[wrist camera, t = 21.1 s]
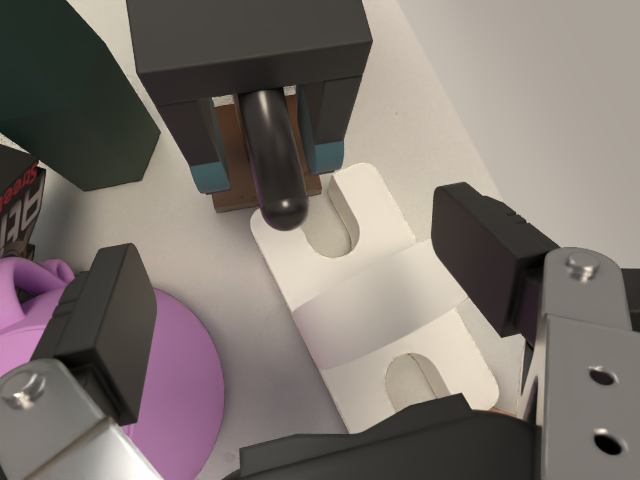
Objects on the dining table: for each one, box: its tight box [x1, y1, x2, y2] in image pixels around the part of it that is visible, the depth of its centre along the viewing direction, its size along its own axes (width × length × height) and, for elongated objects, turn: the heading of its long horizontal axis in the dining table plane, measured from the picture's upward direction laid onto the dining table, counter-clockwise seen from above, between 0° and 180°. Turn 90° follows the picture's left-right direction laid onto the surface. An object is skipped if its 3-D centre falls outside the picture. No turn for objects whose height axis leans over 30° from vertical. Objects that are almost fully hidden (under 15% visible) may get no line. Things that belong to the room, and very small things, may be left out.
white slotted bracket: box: [250, 163, 499, 434], centre depth 25 cm, size 10×18×11 cm, turn 27°
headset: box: [126, 0, 373, 195], centre depth 15 cm, size 6×4×9 cm, turn 103°
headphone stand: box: [212, 87, 322, 231], centre depth 22 cm, size 15×8×20 cm, turn 13°
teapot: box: [0, 257, 224, 480], centre depth 22 cm, size 20×14×12 cm
